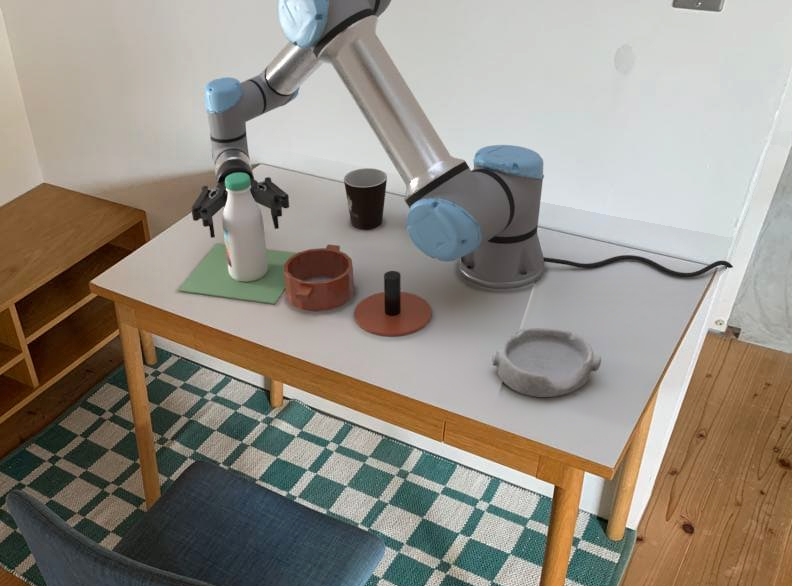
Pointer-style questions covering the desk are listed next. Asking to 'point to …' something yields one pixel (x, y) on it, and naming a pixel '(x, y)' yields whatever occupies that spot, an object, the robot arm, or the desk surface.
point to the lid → (392, 310)
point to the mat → (219, 283)
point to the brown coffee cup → (366, 197)
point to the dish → (545, 362)
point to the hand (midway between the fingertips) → (244, 226)
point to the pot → (319, 265)
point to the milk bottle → (243, 231)
